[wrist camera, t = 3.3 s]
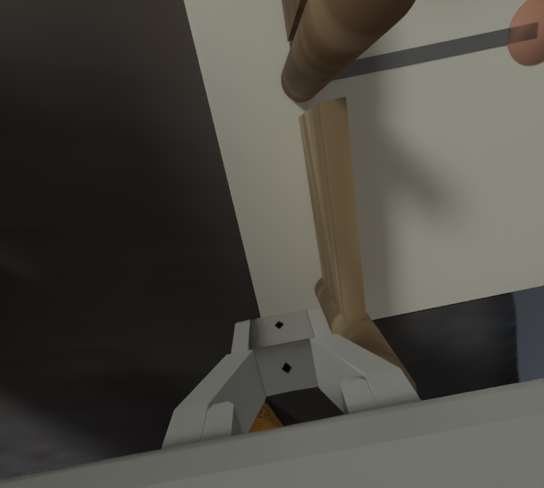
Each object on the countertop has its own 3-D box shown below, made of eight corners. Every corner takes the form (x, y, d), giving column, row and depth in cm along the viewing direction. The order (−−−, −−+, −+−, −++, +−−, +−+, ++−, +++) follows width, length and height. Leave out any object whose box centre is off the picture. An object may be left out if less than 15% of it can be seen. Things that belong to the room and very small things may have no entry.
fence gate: (317, 305, 26) (363, 420, 15) (287, 119, 21) (325, 85, 10) (348, 299, 26) (417, 410, 15) (326, 111, 21) (409, 68, 10)
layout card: (266, 337, 28) (266, 341, 27) (113, -296, 15) (106, -317, 14) (537, 282, 28) (544, 285, 27) (638, -409, 14) (655, -435, 14)
